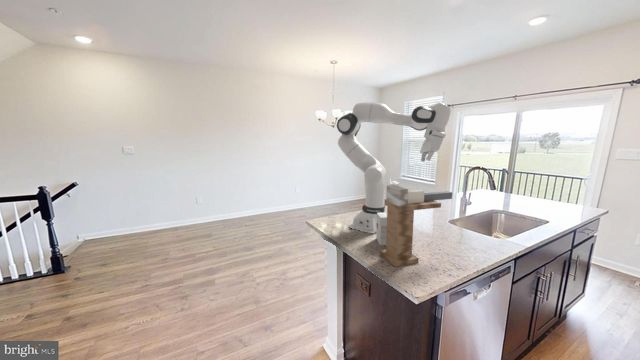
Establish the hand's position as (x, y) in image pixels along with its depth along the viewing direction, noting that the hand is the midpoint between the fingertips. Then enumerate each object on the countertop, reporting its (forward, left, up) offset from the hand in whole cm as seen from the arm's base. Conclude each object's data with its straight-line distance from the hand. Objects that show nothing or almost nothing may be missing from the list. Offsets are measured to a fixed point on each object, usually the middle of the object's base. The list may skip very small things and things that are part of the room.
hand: (425, 160), depth 126 cm
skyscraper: (-19, +25, -43) cm, 53 cm away
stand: (-5, -26, -42) cm, 50 cm away
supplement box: (-17, -13, -42) cm, 47 cm away
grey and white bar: (+2, -20, -16) cm, 26 cm away
